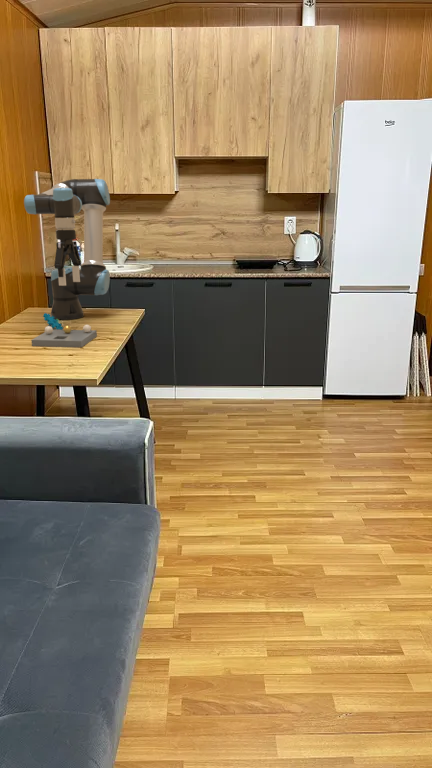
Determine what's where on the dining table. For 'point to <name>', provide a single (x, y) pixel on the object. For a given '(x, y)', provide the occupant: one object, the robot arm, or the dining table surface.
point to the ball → (67, 329)
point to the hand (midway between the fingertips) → (69, 283)
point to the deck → (64, 338)
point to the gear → (52, 322)
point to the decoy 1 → (48, 330)
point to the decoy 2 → (87, 328)
